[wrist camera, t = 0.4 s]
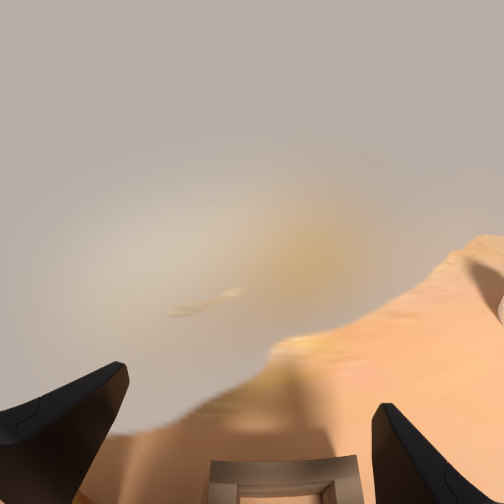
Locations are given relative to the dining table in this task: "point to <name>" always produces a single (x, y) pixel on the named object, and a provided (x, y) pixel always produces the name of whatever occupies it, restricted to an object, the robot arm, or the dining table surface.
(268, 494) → the socket block
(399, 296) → the dining table surface
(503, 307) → the honey pot
